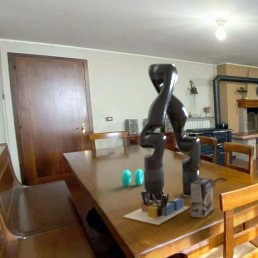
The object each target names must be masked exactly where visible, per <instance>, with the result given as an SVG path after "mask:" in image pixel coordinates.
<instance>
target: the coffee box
mask: <svg viewBox="0 0 258 258" xmlns="http://www.w3.org/2000/svg"><path fill="white" fill-rule="evenodd" d="M212 181H213V178H207V177H201V178H200V179H198V180H196V181H195V182H193V183H191V197H190V210H191V211H190V215H191V217H193V218H194V217H195V218H205V217H206V216H207V215H208V214H209V213H210V212H212V211H213V208H214V207H213V206H214V205H213V202H214V201H213V186H212Z"/></svg>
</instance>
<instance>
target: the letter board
mask: <svg viewBox="0 0 258 258" xmlns="http://www.w3.org/2000/svg"><path fill="white" fill-rule="evenodd" d="M189 208H190V206H186V205H183V208H181V209H179V210H177V211H175V210H174V213H172V214H170V215H168V216H164V215H162V216H160V217H157V218H151V217H148V212H145V211H142V208H138V209H136V210H134V211H131V212H130V213H127V214H125V215H122V217H123V218H127V219H132V220H135V221H139V222H144V223H149V224H152V225H157V226H159V225H160V224H162V223H164V222H166V221H168V220H169V219H171V218H173V217H175V216H177V215H179V214H180V213H182V212H184V211H186V210H188V209H189Z"/></svg>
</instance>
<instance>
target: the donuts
mask: <svg viewBox="0 0 258 258" xmlns="http://www.w3.org/2000/svg"><path fill="white" fill-rule="evenodd" d="M133 178H134V184H135V185H137V186H141V185H142V184H143V182H144V170H142V169H141V168H138V169H136V170H135V172H134V177H133ZM131 182H132V172H131V171H130V170H129V169H124V170H123V172H122V173H121V184H122V186H123V187H129V186H130V184H131Z"/></svg>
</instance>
